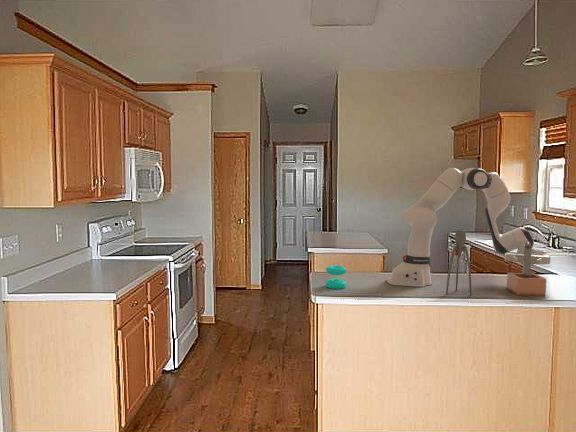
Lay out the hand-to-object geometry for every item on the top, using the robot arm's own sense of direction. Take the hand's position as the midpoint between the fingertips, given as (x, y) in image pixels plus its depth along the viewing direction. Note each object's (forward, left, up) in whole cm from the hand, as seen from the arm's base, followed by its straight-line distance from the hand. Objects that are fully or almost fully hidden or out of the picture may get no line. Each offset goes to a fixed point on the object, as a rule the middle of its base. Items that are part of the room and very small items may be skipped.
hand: (527, 260), depth 247 cm
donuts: (-90, +2, -16) cm, 91 cm away
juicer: (-33, -3, -16) cm, 36 cm away
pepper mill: (0, +1, -14) cm, 15 cm away
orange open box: (0, +1, -15) cm, 16 cm away
